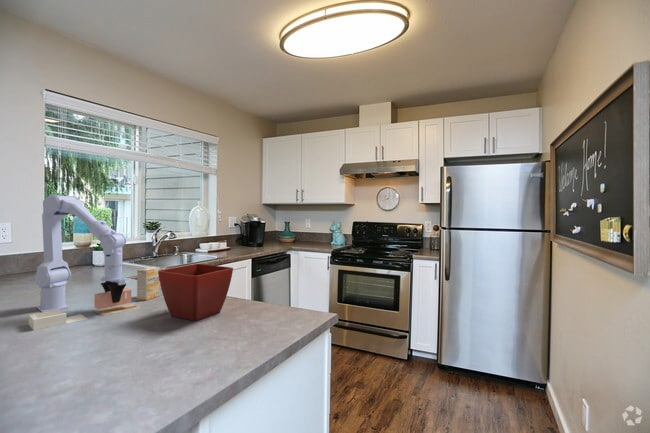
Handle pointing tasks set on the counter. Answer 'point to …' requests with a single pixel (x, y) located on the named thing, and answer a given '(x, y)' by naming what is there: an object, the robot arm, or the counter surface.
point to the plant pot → (195, 289)
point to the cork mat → (117, 309)
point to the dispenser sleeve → (53, 319)
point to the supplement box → (148, 283)
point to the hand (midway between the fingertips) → (113, 301)
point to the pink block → (106, 299)
